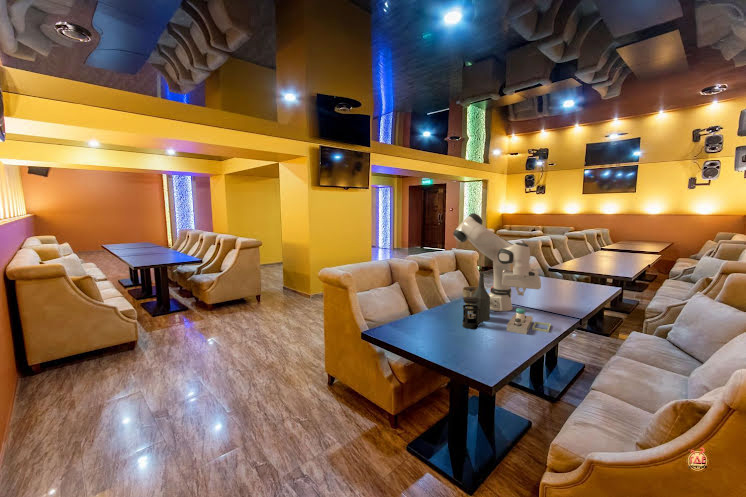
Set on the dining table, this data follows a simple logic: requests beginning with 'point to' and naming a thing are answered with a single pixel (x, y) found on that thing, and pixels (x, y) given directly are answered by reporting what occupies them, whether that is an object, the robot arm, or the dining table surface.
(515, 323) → the dark brown rounded plug
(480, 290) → the bottle
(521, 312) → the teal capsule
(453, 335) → the dining table surface
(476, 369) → the dining table surface
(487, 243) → the robot arm
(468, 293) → the plant pot
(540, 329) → the tray
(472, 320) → the french press
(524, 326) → the white slotted holder
